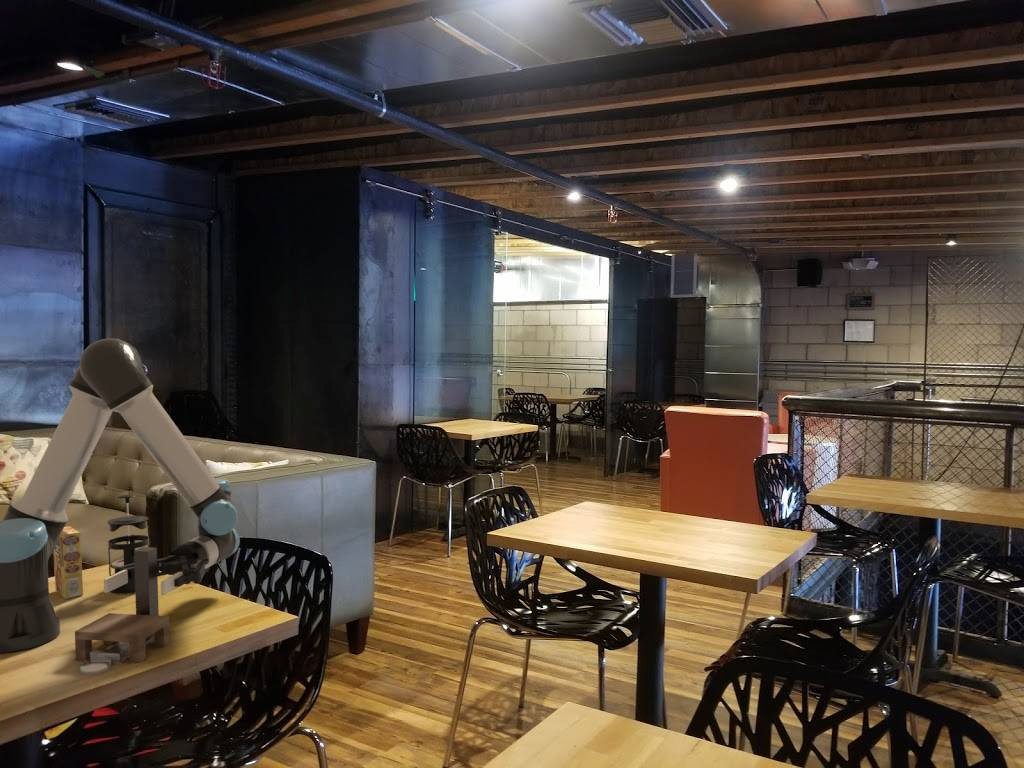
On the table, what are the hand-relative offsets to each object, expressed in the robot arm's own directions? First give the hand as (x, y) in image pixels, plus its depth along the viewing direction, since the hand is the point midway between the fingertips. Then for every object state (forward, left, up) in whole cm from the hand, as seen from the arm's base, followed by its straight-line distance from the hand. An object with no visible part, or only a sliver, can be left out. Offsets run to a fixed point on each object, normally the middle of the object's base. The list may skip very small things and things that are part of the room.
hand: (133, 587), depth 155 cm
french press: (-24, +33, -12) cm, 42 cm away
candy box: (-36, +27, -12) cm, 46 cm away
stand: (0, -4, -11) cm, 12 cm away
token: (0, -12, -12) cm, 17 cm away
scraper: (0, -2, -11) cm, 12 cm away
